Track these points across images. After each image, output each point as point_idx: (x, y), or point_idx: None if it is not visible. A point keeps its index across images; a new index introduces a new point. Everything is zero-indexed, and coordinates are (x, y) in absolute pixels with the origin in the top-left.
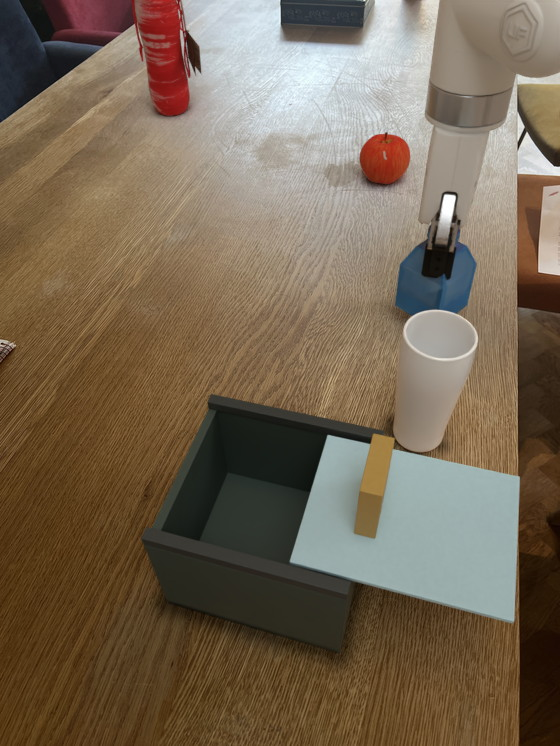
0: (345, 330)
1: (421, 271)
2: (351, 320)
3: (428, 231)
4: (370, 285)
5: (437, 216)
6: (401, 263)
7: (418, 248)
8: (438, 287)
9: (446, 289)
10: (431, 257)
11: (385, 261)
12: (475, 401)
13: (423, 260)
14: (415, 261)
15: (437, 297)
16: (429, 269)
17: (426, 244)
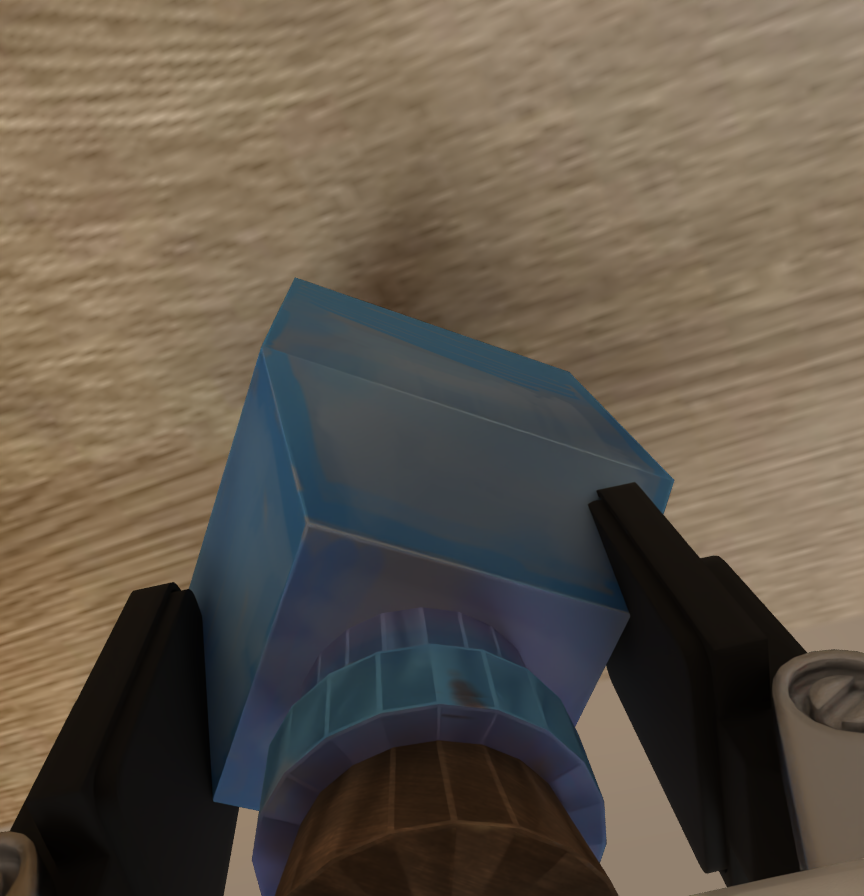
0: (121, 27)
1: (215, 554)
2: (217, 26)
3: (346, 719)
4: (562, 8)
5: (487, 876)
6: (264, 361)
7: (295, 549)
8: None
9: None
10: (22, 812)
11: (815, 8)
12: (57, 706)
13: (95, 672)
14: (253, 503)
15: None
16: (69, 714)
17: (63, 798)
